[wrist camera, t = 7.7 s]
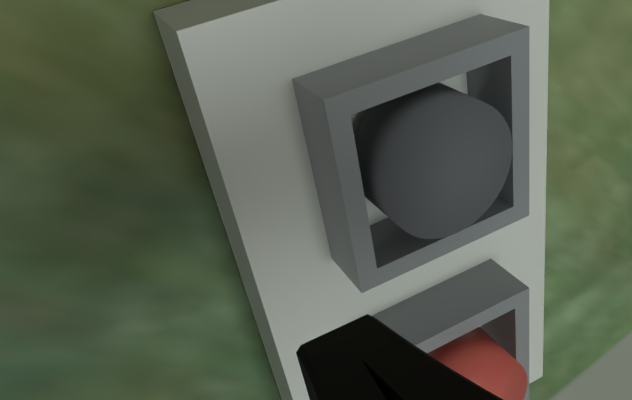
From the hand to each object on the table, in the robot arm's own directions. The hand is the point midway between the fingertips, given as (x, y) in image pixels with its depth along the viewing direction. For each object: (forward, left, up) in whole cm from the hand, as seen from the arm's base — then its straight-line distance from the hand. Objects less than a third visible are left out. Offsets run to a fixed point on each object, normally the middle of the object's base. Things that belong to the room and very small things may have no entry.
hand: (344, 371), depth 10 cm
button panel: (+6, -5, -10) cm, 13 cm away
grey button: (+6, -1, -7) cm, 9 cm away
